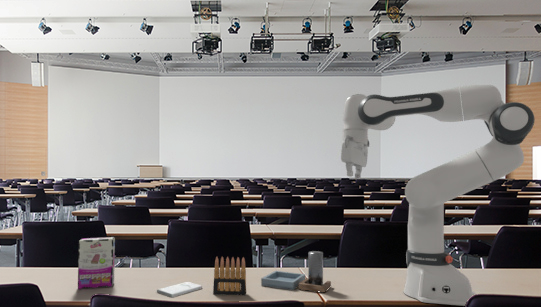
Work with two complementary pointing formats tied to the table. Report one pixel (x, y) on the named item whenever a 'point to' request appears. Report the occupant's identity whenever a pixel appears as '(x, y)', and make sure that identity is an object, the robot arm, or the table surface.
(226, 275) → the ammunition clip
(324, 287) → the stop seat
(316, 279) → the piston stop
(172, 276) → the table surface
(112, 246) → the candy bar box
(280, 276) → the tray
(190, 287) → the external hard drive
